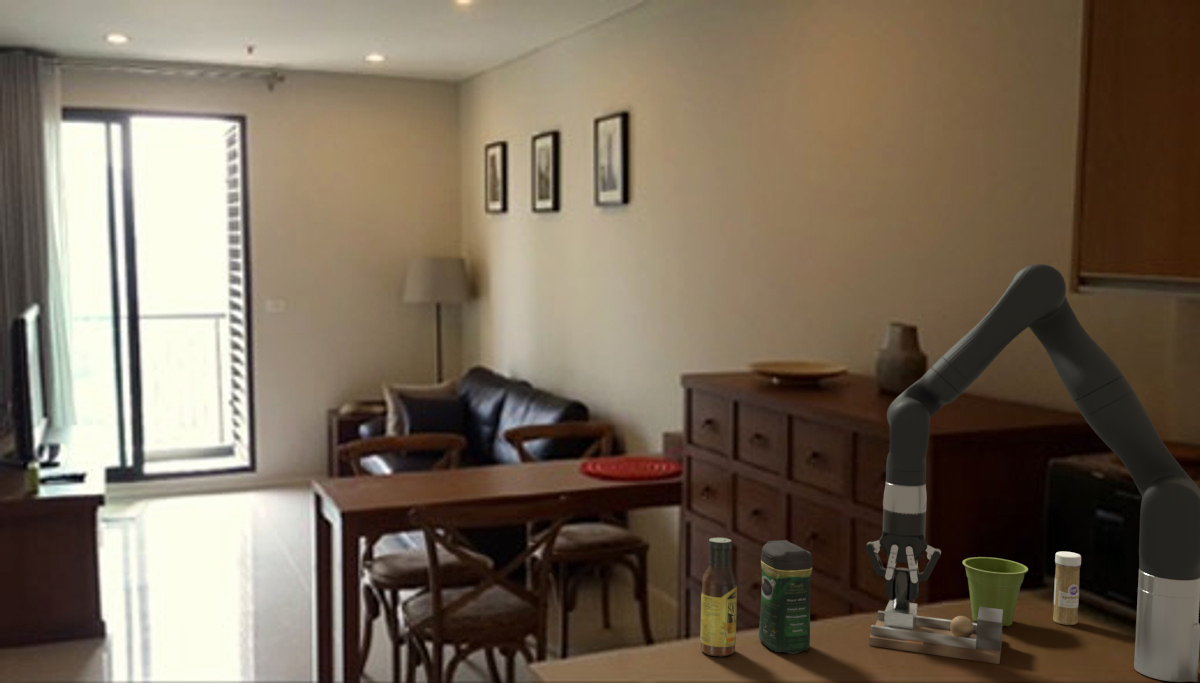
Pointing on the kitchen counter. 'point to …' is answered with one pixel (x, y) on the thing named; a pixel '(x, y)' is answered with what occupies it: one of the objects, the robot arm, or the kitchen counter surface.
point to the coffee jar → (785, 597)
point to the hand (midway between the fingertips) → (901, 599)
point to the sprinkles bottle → (1066, 587)
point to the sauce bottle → (718, 601)
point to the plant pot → (994, 585)
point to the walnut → (961, 627)
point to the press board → (945, 637)
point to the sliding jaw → (901, 603)
